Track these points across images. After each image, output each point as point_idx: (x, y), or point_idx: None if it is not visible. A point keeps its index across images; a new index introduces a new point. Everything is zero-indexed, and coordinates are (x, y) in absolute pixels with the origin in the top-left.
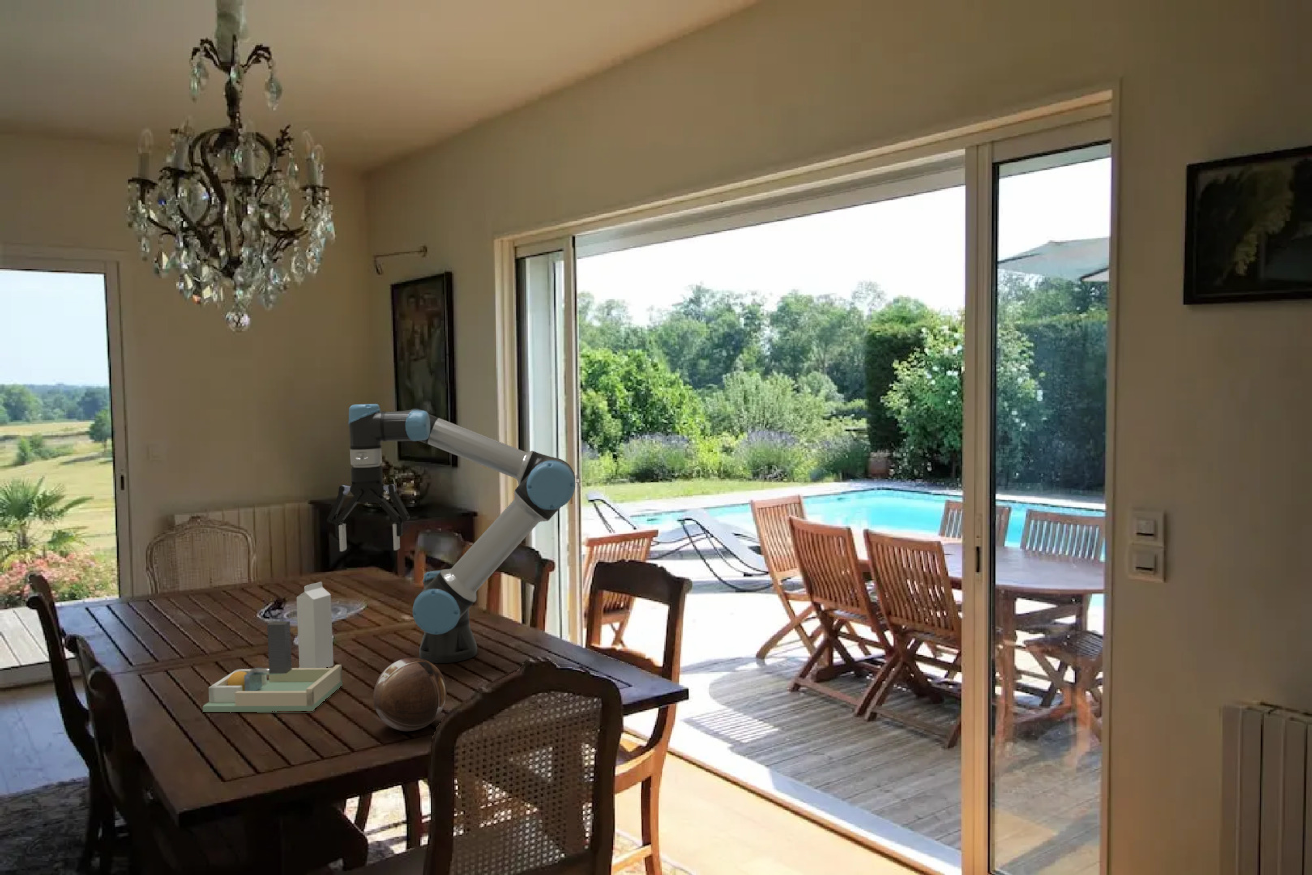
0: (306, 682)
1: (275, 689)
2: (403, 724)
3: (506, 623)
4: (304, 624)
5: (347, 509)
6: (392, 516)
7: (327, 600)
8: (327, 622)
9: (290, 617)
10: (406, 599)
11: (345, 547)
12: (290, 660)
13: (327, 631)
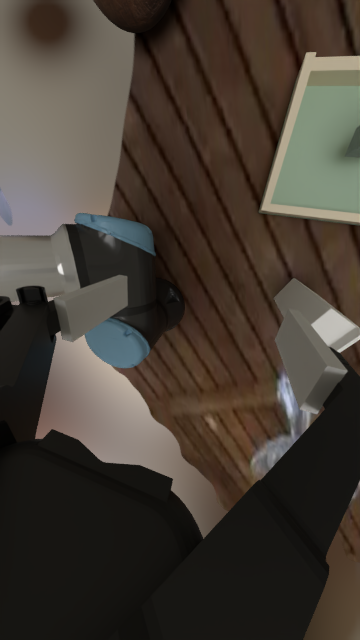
0: (307, 206)
1: (356, 174)
2: None
3: (130, 378)
4: (330, 305)
5: (321, 455)
6: (29, 317)
7: None
8: None
9: None
10: (217, 464)
11: (280, 334)
12: (354, 145)
13: (288, 307)
